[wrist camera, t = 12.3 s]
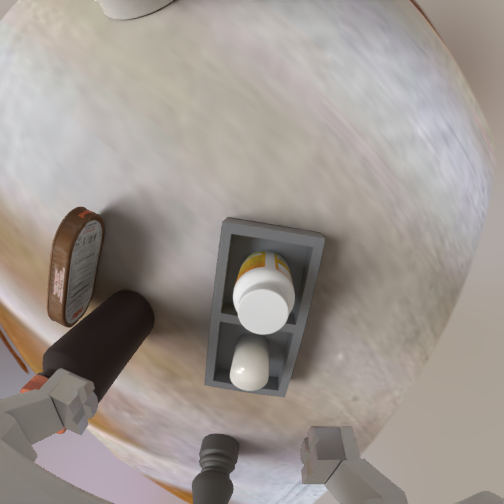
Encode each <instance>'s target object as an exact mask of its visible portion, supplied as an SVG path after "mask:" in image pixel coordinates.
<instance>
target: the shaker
mask: <svg viewBox="0 0 504 504" xmlns="http://www.w3.org/2000/svg"><path fill="white" fill-rule="evenodd" d="M268 378H269V343H268V341H267V340H266V338H265V337H263V336H262V335H260V334H256V333H246V334H244V335H242V336H241V337H239V339H238V340H237V342H236V347H235V352H234V356H233V361H232V366H231V371H230V379H231V382H232V383H233V384H234V385H235V386H236V387H238V388H239V389H242V390H246V391H254V390H258V389H261V388H262V387H264V386H265V385H266V383H267V382H268Z"/></svg>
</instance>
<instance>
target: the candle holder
mask: <svg viewBox="0 0 504 504" xmlns="http://www.w3.org/2000/svg"><path fill="white" fill-rule="evenodd" d="M238 451H239V444H238V442H237V441H236V440H235V439H233V438H232V437H230V436H227V435H224V434H210V435H208V436H206V437H205V438H204V439H203V441H202V445H201V449H200V453H199V455H200V460H199V463H200V466H201V467H202V471H201V473H199V474H198V475H197V476H196V477H195V479H194V480H193V482H192V493H193V504H228V502H229V500H230V498H231V496H232V494H233V483H232V481H231V480H230V479H229V474H230V473H231V472H232V471H233V470H234V469H235V464H236V463H237V459H238Z"/></svg>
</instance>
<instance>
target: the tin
mask: <svg viewBox="0 0 504 504" xmlns="http://www.w3.org/2000/svg"><path fill="white" fill-rule="evenodd" d="M103 238H104V222H103V220H102V218H101V217H100V216H99V215H98V214H96V213H94V212H92V211H89V210H87V209H86V208H84V207H77V208H75V209H73V210H72V211H70V212H69V213H68V214H67V215H66V216H65V218H64V219H63V220H62V222H61V224H60V225H59V227H58V229H57V231H56V234H55V237H54V240H53V243H52V249H51V257H50V265H49V276H48V289H47V313H48V316H49V317H50V319H51V320H53V321H56V322H58V323H59V324H61V325H63V326H65V327H72V326H73V325H74V324H75V323H76V322H77V321H78V320H79V319H80V318H81V317H82V316H83V315H84V314H85V312H86V310H87V308H88V306H89V303H90V301H91V298H92V294H93V290H94V284H95V278H96V273H97V268H98V263H99V258H100V253H101V248H102V243H103Z"/></svg>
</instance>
